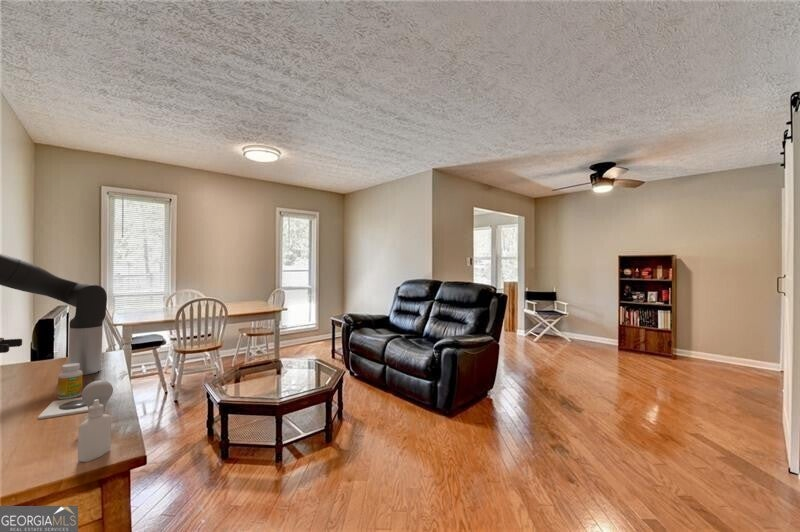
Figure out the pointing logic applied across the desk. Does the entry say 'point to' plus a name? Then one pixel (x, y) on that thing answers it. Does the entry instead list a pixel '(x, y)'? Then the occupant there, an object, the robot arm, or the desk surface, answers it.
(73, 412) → the plate
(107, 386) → the lightbulb
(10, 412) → the desk surface
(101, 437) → the eye dropper bottle
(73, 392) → the supplement bottle
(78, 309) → the robot arm
